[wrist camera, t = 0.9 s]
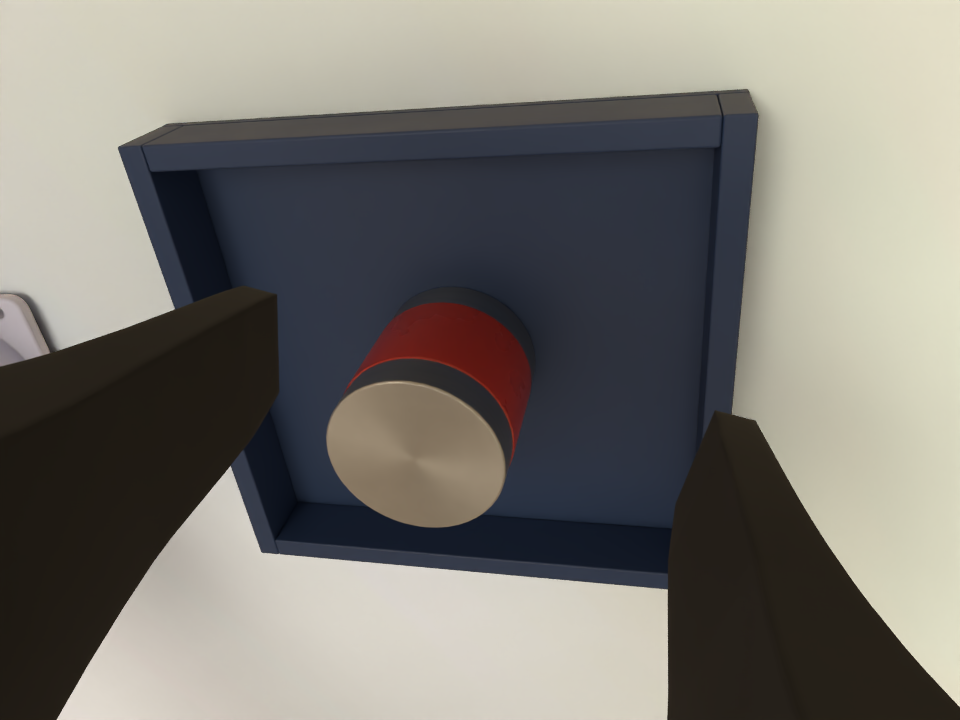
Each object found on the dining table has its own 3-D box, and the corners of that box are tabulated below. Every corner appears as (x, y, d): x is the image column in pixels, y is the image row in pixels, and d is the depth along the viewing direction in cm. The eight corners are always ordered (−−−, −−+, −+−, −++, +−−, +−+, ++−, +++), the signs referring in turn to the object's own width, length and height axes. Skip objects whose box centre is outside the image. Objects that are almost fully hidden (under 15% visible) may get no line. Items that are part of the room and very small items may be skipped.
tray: (288, 508, 28) (261, 553, 26) (167, 123, 21) (116, 147, 19) (711, 540, 24) (715, 594, 22) (748, 89, 17) (758, 113, 15)
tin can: (399, 414, 24) (344, 522, 20) (374, 285, 22) (305, 377, 17) (541, 420, 23) (514, 536, 19) (531, 284, 20) (498, 382, 16)
